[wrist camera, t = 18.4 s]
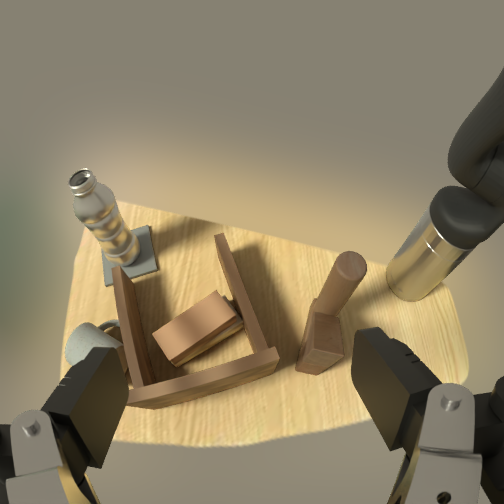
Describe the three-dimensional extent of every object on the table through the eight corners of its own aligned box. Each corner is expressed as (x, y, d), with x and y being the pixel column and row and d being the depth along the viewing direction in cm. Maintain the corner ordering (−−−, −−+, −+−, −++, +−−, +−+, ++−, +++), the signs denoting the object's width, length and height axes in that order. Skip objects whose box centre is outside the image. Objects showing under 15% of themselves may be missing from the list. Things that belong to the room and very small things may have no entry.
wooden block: (294, 370, 41) (319, 340, 26) (309, 306, 47) (337, 244, 31) (317, 376, 41) (357, 349, 26) (331, 311, 46) (369, 253, 31)
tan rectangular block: (226, 302, 47) (222, 286, 42) (244, 328, 45) (243, 316, 40) (161, 340, 44) (149, 329, 39) (177, 369, 42) (167, 361, 37)
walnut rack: (226, 254, 52) (220, 210, 41) (272, 373, 41) (279, 358, 31) (125, 285, 48) (96, 249, 38) (154, 409, 38) (121, 404, 28)
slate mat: (148, 226, 55) (147, 224, 54) (157, 270, 50) (156, 269, 50) (102, 242, 53) (100, 240, 53) (106, 286, 48) (105, 285, 48)
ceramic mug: (120, 392, 39) (97, 385, 33) (81, 369, 40) (56, 357, 34) (147, 334, 44) (130, 318, 38) (107, 315, 46) (87, 296, 39)
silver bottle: (142, 268, 50) (96, 190, 32) (108, 272, 49) (53, 200, 32) (144, 237, 53) (106, 156, 36) (111, 242, 52) (65, 166, 35)
